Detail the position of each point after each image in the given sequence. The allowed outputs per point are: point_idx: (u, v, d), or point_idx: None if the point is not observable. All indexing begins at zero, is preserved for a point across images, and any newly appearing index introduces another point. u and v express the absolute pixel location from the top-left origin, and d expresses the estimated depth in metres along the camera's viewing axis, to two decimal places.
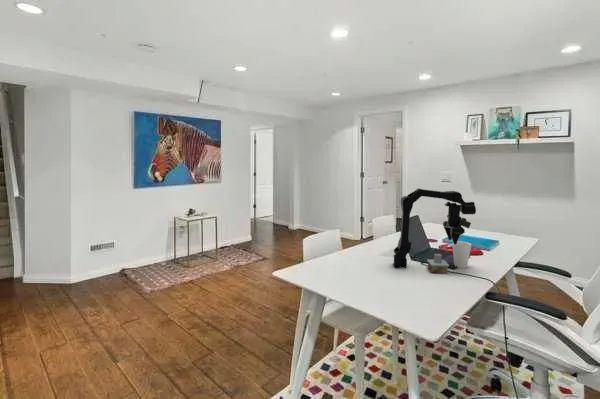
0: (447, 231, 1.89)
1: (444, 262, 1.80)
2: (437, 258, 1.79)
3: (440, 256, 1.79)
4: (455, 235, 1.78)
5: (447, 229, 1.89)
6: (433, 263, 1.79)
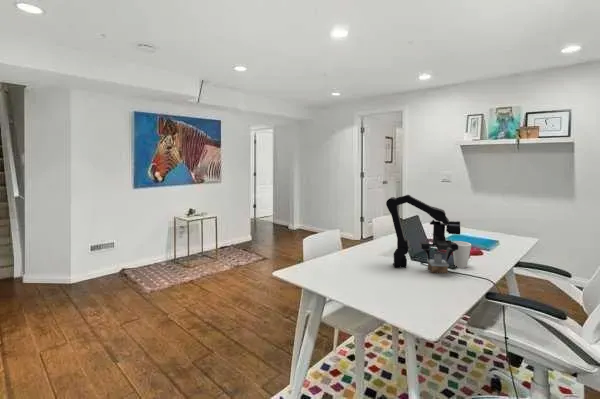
0: (447, 252, 1.81)
1: (444, 262, 1.80)
2: (437, 258, 1.79)
3: (440, 256, 1.79)
4: None
5: (447, 249, 1.81)
6: (433, 263, 1.79)
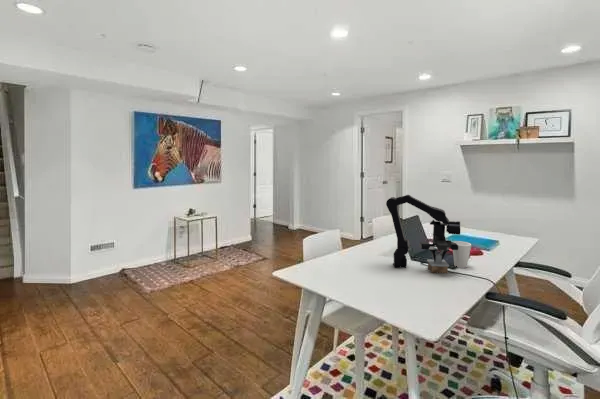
0: (441, 252, 1.81)
1: (444, 262, 1.80)
2: (437, 258, 1.79)
3: (440, 256, 1.79)
4: (432, 251, 1.81)
5: (441, 249, 1.81)
6: (433, 263, 1.79)
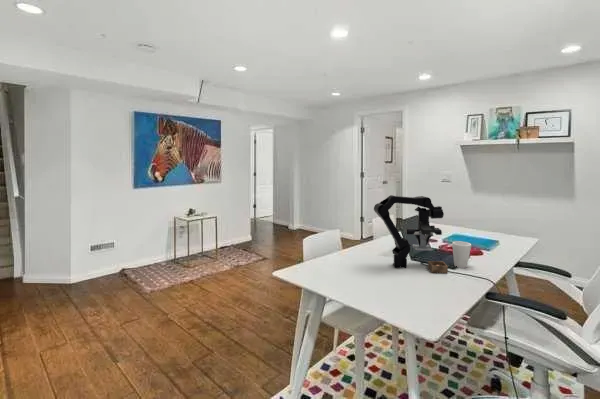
0: (426, 237, 1.90)
1: (428, 247, 1.89)
2: (422, 243, 1.88)
3: (424, 241, 1.88)
4: (417, 236, 1.90)
5: (426, 235, 1.90)
6: (418, 247, 1.88)
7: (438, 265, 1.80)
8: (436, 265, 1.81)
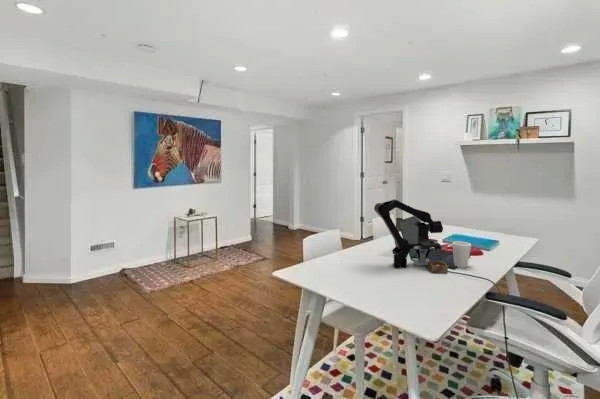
0: (425, 251, 1.91)
1: None
2: (421, 257, 1.89)
3: (424, 255, 1.89)
4: None
5: (425, 249, 1.91)
6: (417, 262, 1.89)
7: (438, 265, 1.80)
8: (436, 265, 1.81)
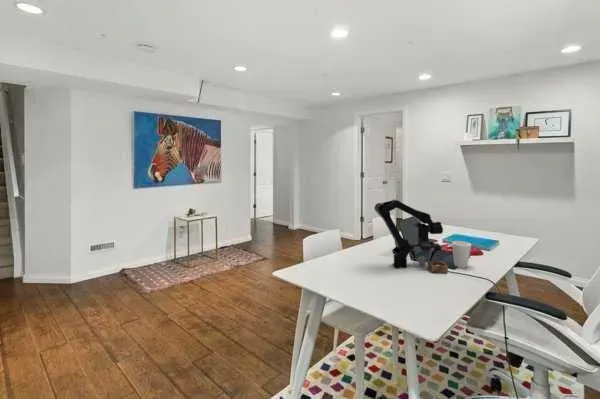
0: (430, 252, 1.91)
1: None
2: (421, 261, 1.89)
3: (424, 259, 1.89)
4: None
5: (430, 250, 1.91)
6: (417, 265, 1.89)
7: (438, 265, 1.80)
8: (436, 265, 1.81)
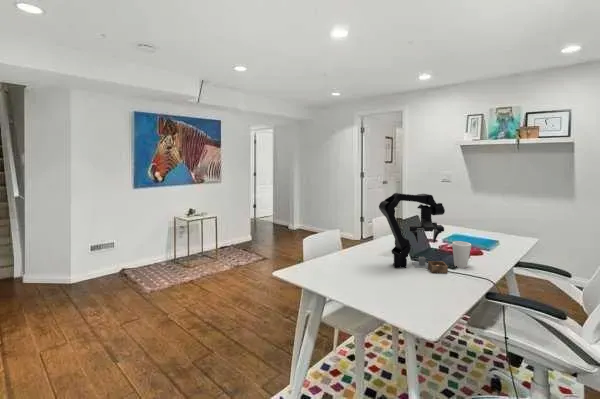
0: (434, 234, 1.92)
1: None
2: (421, 261, 1.89)
3: (424, 259, 1.89)
4: None
5: (434, 232, 1.92)
6: (417, 265, 1.89)
7: (438, 265, 1.80)
8: (436, 265, 1.81)
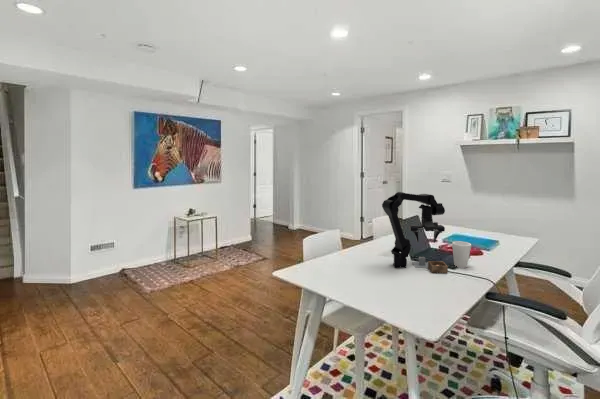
0: (434, 234, 1.94)
1: None
2: (421, 261, 1.89)
3: (424, 259, 1.89)
4: None
5: (434, 231, 1.94)
6: (417, 265, 1.89)
7: (438, 265, 1.80)
8: (436, 265, 1.81)
